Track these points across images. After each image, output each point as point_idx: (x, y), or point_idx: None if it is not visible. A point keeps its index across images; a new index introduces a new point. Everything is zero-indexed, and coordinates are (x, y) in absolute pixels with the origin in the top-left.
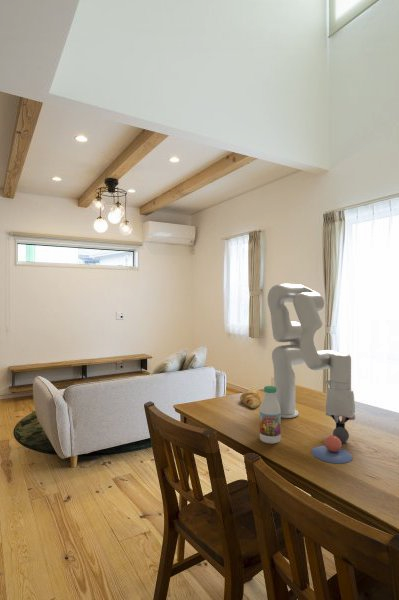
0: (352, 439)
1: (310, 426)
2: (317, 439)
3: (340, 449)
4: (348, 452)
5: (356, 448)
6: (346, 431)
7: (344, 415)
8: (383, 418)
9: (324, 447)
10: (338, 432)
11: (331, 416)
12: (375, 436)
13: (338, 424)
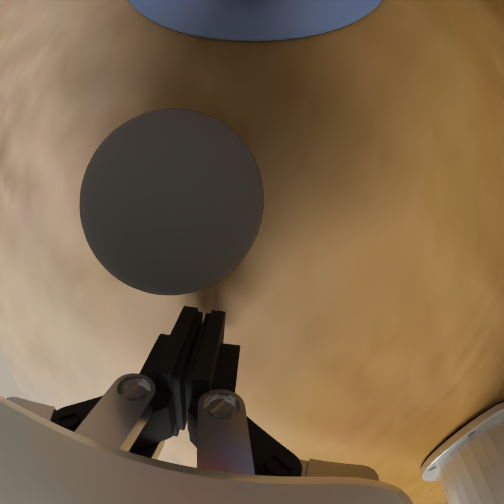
0: (119, 290)
1: (410, 392)
2: (396, 169)
3: (189, 18)
4: (133, 5)
5: (79, 120)
6: (82, 188)
7: (36, 434)
8: None
9: (320, 5)
10: (178, 120)
11: (296, 461)
12: (48, 368)
13: (199, 367)
